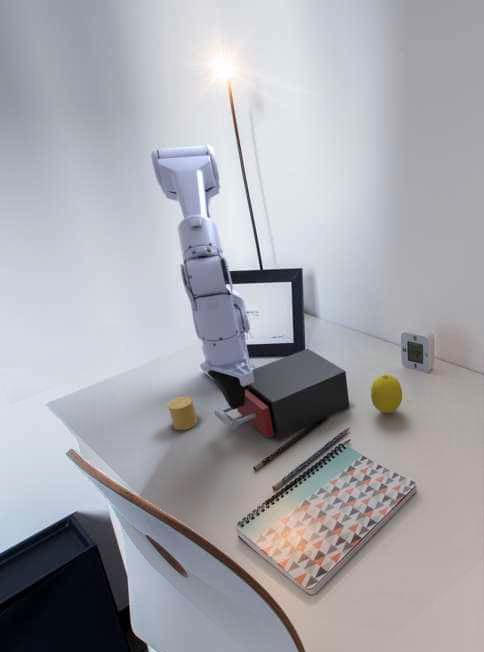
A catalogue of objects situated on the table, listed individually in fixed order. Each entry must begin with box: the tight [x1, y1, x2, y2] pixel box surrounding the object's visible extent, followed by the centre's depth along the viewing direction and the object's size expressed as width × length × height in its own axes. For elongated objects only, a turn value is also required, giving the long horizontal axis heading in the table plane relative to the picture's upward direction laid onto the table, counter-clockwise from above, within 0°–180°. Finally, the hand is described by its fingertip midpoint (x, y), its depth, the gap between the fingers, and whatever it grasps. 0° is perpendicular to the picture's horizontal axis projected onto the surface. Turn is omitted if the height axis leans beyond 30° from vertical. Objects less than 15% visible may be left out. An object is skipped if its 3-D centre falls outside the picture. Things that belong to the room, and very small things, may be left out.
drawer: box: [213, 387, 275, 439], centre depth 94 cm, size 18×11×6 cm, turn 132°
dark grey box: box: [246, 348, 350, 440], centre depth 96 cm, size 15×13×8 cm
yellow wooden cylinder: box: [167, 396, 199, 431], centre depth 94 cm, size 4×4×4 cm
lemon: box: [370, 373, 403, 415], centre depth 94 cm, size 6×6×8 cm
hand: (237, 405), depth 89 cm, fingers closed
